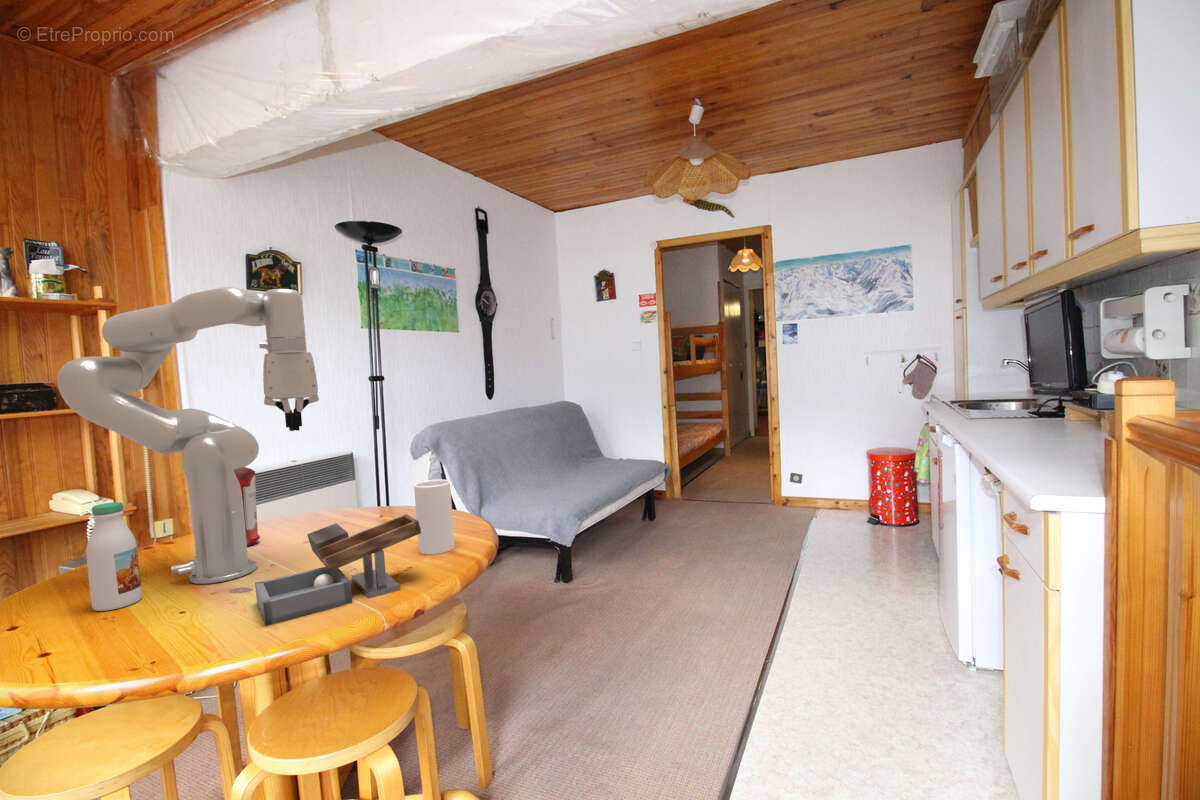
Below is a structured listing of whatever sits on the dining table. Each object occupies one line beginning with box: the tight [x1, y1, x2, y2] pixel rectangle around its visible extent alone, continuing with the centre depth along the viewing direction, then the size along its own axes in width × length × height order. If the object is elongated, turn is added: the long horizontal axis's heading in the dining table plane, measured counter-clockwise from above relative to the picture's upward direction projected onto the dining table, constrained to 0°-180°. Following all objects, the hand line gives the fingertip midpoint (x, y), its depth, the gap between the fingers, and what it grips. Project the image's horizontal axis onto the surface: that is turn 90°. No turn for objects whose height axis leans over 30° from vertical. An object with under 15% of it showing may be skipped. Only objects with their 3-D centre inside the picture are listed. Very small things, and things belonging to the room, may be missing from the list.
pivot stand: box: [351, 549, 401, 599], centre depth 118 cm, size 6×13×8 cm, turn 36°
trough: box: [306, 514, 421, 571], centre depth 121 cm, size 18×18×4 cm
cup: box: [413, 479, 456, 555], centre depth 139 cm, size 8×8×16 cm
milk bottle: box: [85, 501, 143, 612], centre depth 115 cm, size 8×8×20 cm
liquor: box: [234, 466, 261, 547], centre depth 152 cm, size 7×7×28 cm
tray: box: [254, 566, 353, 627], centre depth 110 cm, size 14×13×4 cm
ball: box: [314, 574, 334, 588], centre depth 112 cm, size 4×4×4 cm
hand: (294, 430), depth 128 cm, fingers closed
